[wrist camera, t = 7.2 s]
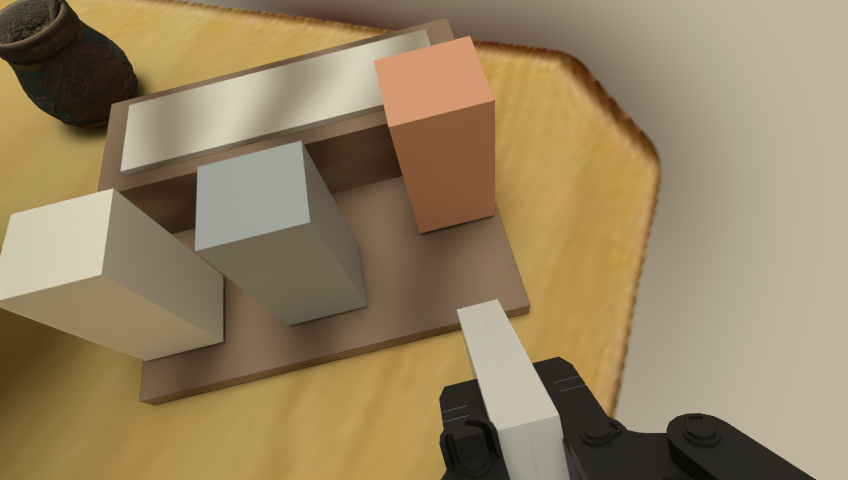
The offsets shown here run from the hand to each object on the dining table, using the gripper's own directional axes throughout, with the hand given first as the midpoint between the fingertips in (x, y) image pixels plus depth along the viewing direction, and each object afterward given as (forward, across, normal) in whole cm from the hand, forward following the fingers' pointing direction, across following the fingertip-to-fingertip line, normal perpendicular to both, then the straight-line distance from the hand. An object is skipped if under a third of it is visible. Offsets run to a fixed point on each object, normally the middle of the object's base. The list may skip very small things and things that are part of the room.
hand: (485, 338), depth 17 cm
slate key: (+10, -7, 0) cm, 12 cm away
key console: (+14, -7, +3) cm, 16 cm away
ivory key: (+10, -15, 0) cm, 18 cm away
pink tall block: (+12, +1, +3) cm, 13 cm away
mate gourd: (+26, -23, +14) cm, 37 cm away
